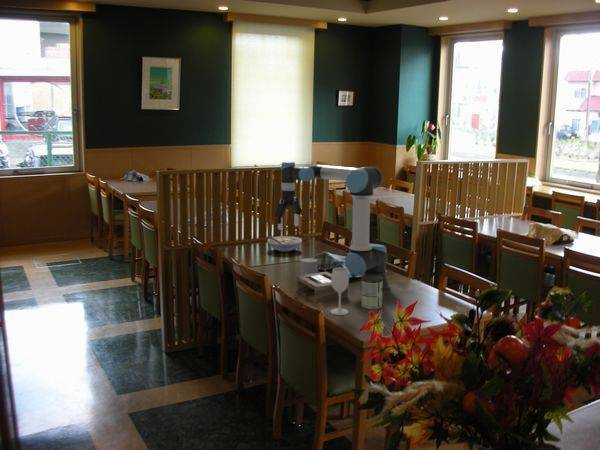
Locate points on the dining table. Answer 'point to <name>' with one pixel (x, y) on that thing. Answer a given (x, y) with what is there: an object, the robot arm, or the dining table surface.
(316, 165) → the robot arm
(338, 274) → the wineglass
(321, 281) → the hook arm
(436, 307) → the dining table surface
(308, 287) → the shelf
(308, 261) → the gray cylinder
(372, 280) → the coffee can
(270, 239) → the ramen bowl
